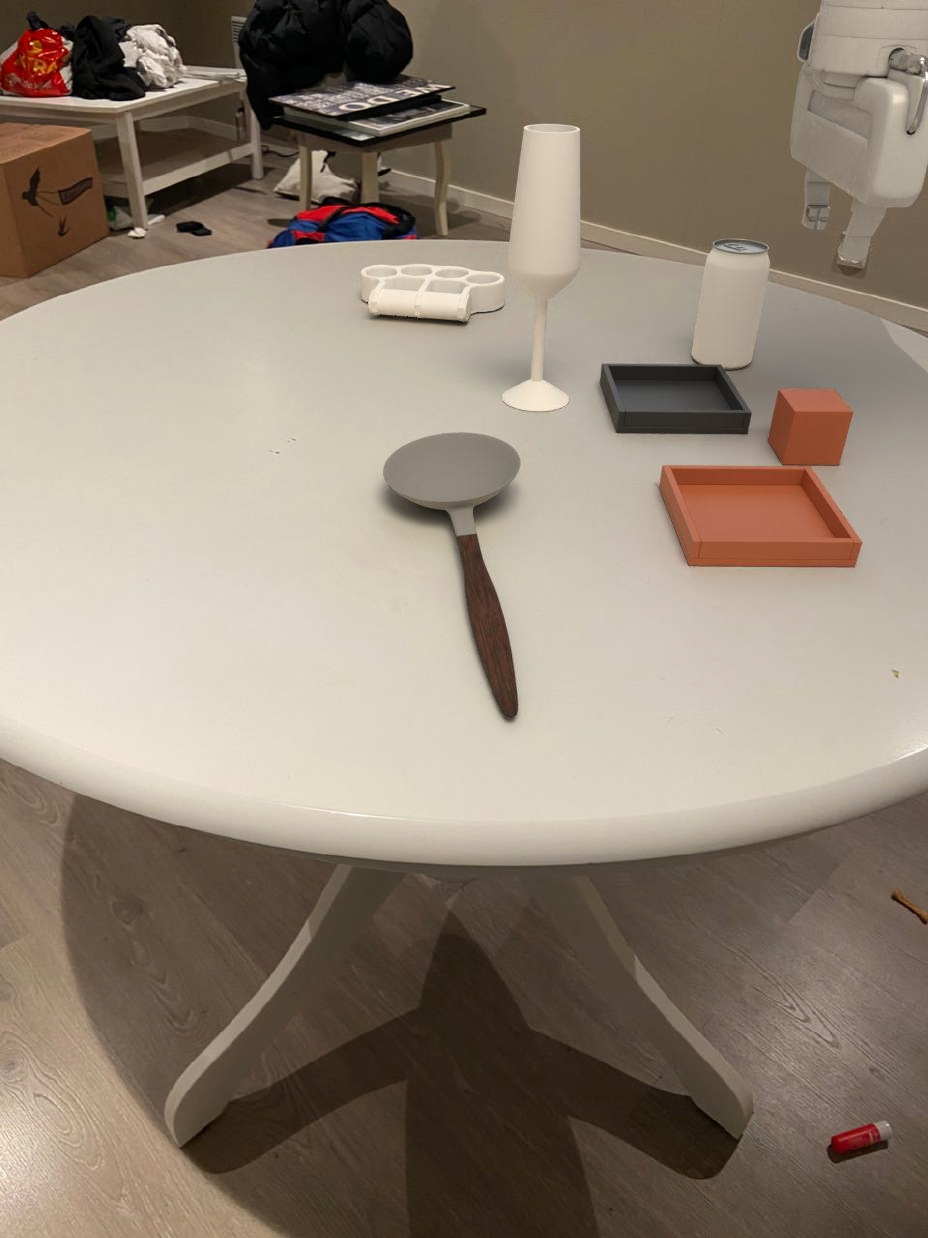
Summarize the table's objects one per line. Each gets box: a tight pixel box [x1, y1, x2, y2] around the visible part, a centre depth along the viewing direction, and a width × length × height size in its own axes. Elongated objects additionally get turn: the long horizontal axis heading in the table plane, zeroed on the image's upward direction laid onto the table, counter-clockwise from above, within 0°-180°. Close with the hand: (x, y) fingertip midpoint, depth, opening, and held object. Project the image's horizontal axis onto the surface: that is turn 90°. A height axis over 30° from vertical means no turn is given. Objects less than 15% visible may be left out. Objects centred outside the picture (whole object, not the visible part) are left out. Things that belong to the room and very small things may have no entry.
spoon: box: [382, 431, 521, 718], centre depth 68 cm, size 11×33×3 cm, turn 8°
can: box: [691, 238, 771, 371], centre depth 100 cm, size 6×6×12 cm
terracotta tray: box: [658, 464, 863, 568], centre depth 74 cm, size 12×12×2 cm
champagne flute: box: [501, 123, 582, 412], centre depth 88 cm, size 7×7×24 cm
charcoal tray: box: [599, 362, 753, 435], centre depth 92 cm, size 12×12×2 cm
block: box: [767, 388, 854, 466], centre depth 84 cm, size 5×5×5 cm
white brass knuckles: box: [359, 263, 506, 323], centre depth 117 cm, size 3×18×15 cm
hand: (831, 242), depth 77 cm, fingers open, 8 cm apart
